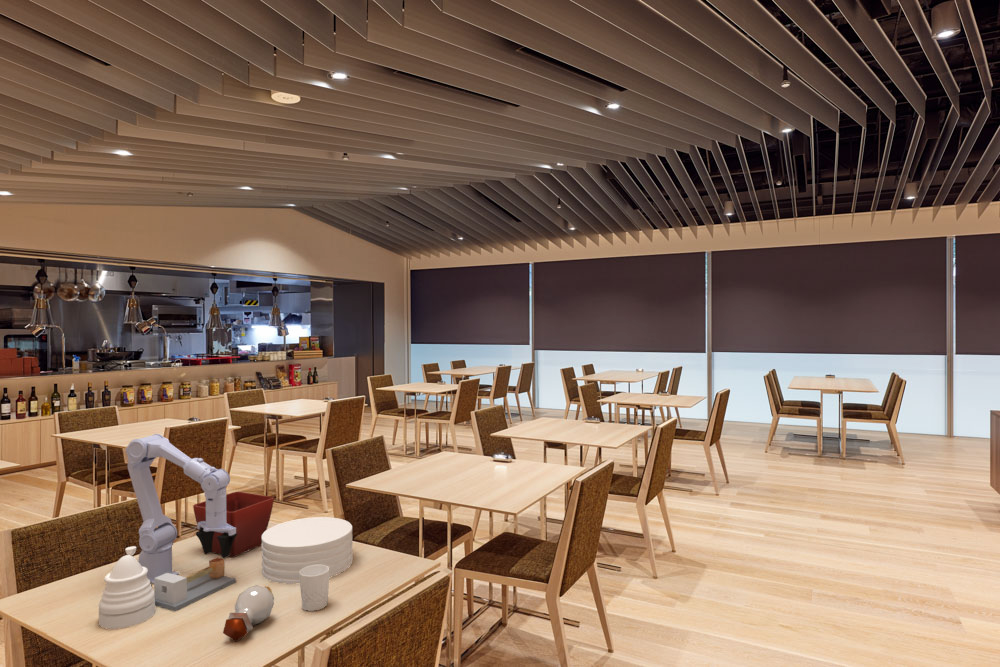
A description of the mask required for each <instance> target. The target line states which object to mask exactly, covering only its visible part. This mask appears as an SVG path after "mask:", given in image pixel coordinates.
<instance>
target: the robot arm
mask: <svg viewBox="0 0 1000 667" xmlns="http://www.w3.org/2000/svg"><path fill="white" fill-rule="evenodd" d="M125 453H126V456H127V471H128V473H129V477H130V480H131V484H132V488H133V492H134V494H135V498H136V501H137V504H138V508H139V511H140V514H141V518H142V524H141V525H140V527H139V529H138V534H139V539H138V542H139V543H138V545H139V547H140V548H141V549H140V550H141V551H140V552H139V555H138V560H137V561H138V562H139V563H140V565H141V566H143V567H146V568H147V569H148V572H147V574H146V576H147V578H148V579H149V580H150V584H154V578H156V577H158V576H161V575H163V574H165V573H170V574H174V575H178V576H179V575H180V573H179V572H177V571H173V545H174V541H176V539H177V537H178V529H177V527H176V526H175V525H174V524H173V522H172V519H171V518H170V517H169V516H167V515H165V514H164V513H163V509H162V505H161V503H160V499H159V496H158V492H157V489H156V486H155V482H154V478H153V476H152V472H151V469H150V468H151V465H152V464H153V462H154V461H155V460H156V459H157V458H163V459H166V460H167V461H169V462H171V463H173V464H174V465H176V466H179V467H180V468H182V469H183V474H184V475H186V476H187V477H189V478H191V479H192V480H193V481H195V482H197V483H199V484H200V487H201V489H202V491H203V493H204V498H205V501H206V521H201V522H198V523H197V522H196V528H197V530H198V531H196V532H195V535H196V537H197V538H198V540H199V541H200V544H201V547H202V552H203V553H204V555H207V554H210V553H212V543H213V536H214V532H220V533H223V535H220V536H218V537H217V538H218V540H219V543H220V547H221V554H220V556H221V558H222V559H225V558H226V559H227V558H228V557H230V556H229V554H230V550H231V546H232V544H233V541H234V539H235V537H236V536H237V532H236V527H233V526H231V525H229V524H228V523H227V519H226V495H227V487H228V485H229V484H230V482H231V477H230V476H231V475H230V474H229V473H228V471H226V469H224V468H219V469H218V468H216V467H215V466H212V465H210V464H208V463H207V462H205V461H204V458H202V457H194V458H191V457H190V456H188V455H187V454H185V453H184V452H182V451H181V450H180V449H178V448H177V447H176V446H174V444H172V443H171V442H170V440H169V439H168V438H167V437H164V435H162V434H161V433H154V434H152V435H148V436H144V437H141V438H134V439H132V440H131V441H130V442H129V443H128V445H127V446H126V448H125ZM199 529H200V530H199Z"/></svg>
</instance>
